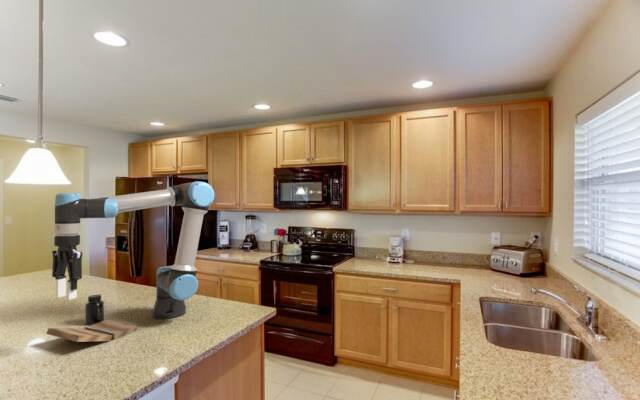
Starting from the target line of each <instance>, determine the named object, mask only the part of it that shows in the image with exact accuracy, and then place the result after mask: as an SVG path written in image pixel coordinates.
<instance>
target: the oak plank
mask: <svg viewBox="0 0 640 400" xmlns="http://www.w3.org/2000/svg"><path fill="white" fill-rule="evenodd" d="M46 335H49V336H53V337H56V338H61V339H65V340H68V341H72V342H76V343H79V342H80V343H81V342H87V343H88V342H89V343H90V342H111V341H112V339H111V338H112V335H109V334H105V333H100V332H96V331H92V330H88V329H84V328H80V327H79V328H76V327H73V328H72V327H68V328H67V327H66V328H64V327H62V328H61V327H49V328H48V329H47V332H46Z"/></svg>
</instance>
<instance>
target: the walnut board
mask: <svg viewBox="0 0 640 400" xmlns="http://www.w3.org/2000/svg"><path fill="white" fill-rule="evenodd" d="M83 329H88V330H92V331H96V332H100V333H105V334H109V335H112V338H111V340H113V341H115V340H117V339H120V338H122V337H125V336H126V335H127V336H128V335H129V334H133V333H134V332H136V331H137V330H138V329H137V325H133V324H130V323H125V322H120V321H116V320H111V319H106V320H105V319H104V321H102V322H99V323H96V324H93V325H85V326H84V328H83Z"/></svg>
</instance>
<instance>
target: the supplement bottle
mask: <svg viewBox="0 0 640 400" xmlns="http://www.w3.org/2000/svg"><path fill="white" fill-rule="evenodd" d="M104 305H105V302H104V301H103V300H102V294H92V295H89V296H88V297H87V303H86V304H85V308H84V309H85V313H84V314H85V319H84V321H85V326H91V325H93V324H96V323H99V322H102V321H105V306H104Z"/></svg>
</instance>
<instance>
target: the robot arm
mask: <svg viewBox="0 0 640 400" xmlns="http://www.w3.org/2000/svg"><path fill="white" fill-rule="evenodd" d="M54 198H55V199H54V201H55V202H54V227H53V230H54V235H55V236H54V241H53V243H54V244H53V245H54V247H57V250H52V271H51V272H52V273H51V276H52V278H55V280H56V298H58V299H59V298H62V297H66V296H67V300H68V301H70V300H73V299H77V297H78V281H79V280H81V279H82V278H83V272H82V271H83V270H82V269H83V268H82V266H83V265H82V263H83V260H82V258H83V254H84V253H83V252H82V251H80V252H79V251H78V248H77V246H79V245H80V244H81V236H80V234H81V219H113V218H116V217H117V215H118V214H119V213H125V212H127V213H128V212H131V211H138V210H145V209H151V208H159V207H163V206H171V207H177V206H181V209H182V211H183V213H184V214H183V218H182V223H181V228H180V233H179V239H178V244H177V250H176V254H175V259H174V264H172V265H167V266H161V267H160V266H159V267H158V268H157V269H156V274H155V276H156V289H155V290H156V291H155V292H156V298H155V302H154V305H153V308H152V311H151V317H152V318H155V319H161V320H165V319H166V320H167V319H173V318H174V319H175V318H177V317H181V316H183V315H185V314H186V313H187V305H186V303H185V301H186V300H188V299H190V298H191V297H193V296H194V295H196V292H197V291H198V288H199V281H198V279H197V273H198V269H197V268H196V265H195V263H196V259H197V253H198V248H199V242H200V238H201V237H200V236H201V230H202V225H203V221H204V215H205V214H207V213H208V212H209V208H210V207H209V206H210V205H211V204H212V203H213V202H214V200H215V190H214V188H213V187H212V186H211V185H210V184H209V183H207V182H205V181H198V180H197V181H193V182H186V183H181V184H177V185H173V186H168V187H167V188H166V189H159V190H152V191H151V190H150V191H144V192H135V193H128V194H121V195H112V196H106V197H99V198H82V196H81V193H76V192H75V193H74V192H73V193H72V192H69V193H65V192H60V193H56V195H55V197H54ZM66 271H67V273H68V280H67V276H66ZM66 290H67V291H66ZM66 292H67V293H66ZM66 294H67V295H66Z"/></svg>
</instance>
